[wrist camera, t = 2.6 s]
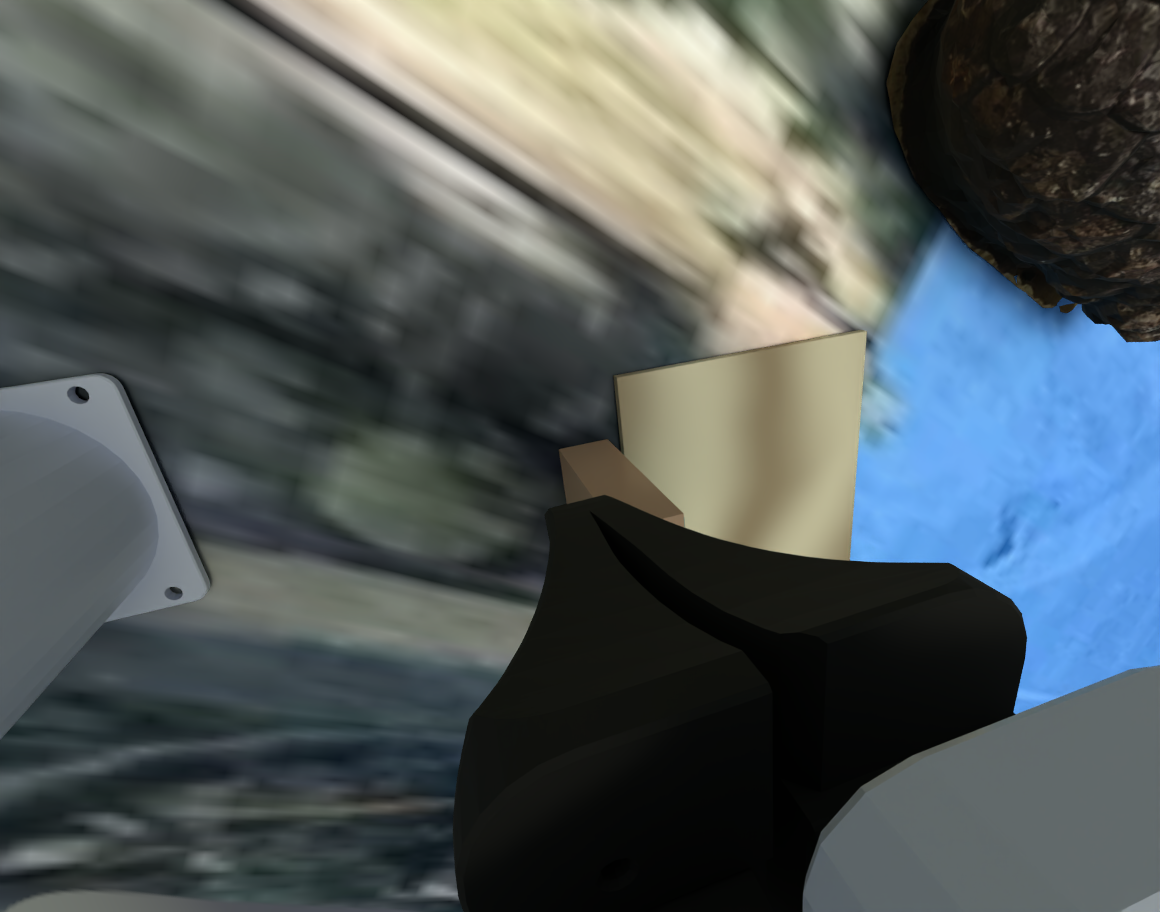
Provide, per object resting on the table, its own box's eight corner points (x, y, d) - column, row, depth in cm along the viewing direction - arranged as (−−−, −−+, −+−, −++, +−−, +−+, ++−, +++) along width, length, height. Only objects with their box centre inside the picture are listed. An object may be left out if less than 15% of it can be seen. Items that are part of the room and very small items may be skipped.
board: (642, 662, 26) (645, 668, 25) (613, 375, 21) (616, 377, 20) (840, 602, 28) (846, 607, 28) (859, 329, 23) (866, 331, 22)
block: (585, 633, 24) (641, 764, 18) (558, 448, 21) (616, 530, 15) (629, 620, 25) (700, 744, 18) (610, 437, 21) (688, 512, 15)
